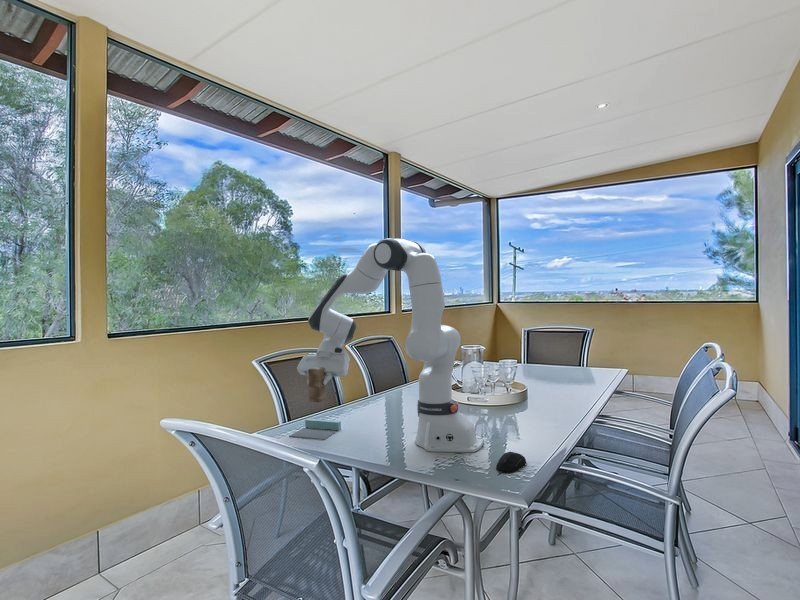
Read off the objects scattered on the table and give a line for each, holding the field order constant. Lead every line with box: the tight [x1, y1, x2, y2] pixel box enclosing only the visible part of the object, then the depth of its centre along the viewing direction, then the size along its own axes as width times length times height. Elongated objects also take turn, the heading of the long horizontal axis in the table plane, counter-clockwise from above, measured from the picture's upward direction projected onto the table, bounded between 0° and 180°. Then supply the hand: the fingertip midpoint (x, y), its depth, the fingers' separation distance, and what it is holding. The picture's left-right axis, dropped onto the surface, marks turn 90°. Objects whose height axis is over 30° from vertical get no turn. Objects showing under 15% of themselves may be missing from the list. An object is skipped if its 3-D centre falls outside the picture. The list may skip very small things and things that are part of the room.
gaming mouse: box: [496, 451, 527, 476], centre depth 129 cm, size 6×15×4 cm, turn 141°
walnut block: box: [307, 367, 327, 403], centre depth 168 cm, size 4×4×12 cm
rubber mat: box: [288, 428, 337, 441], centre depth 163 cm, size 14×9×1 cm, turn 71°
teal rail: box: [304, 418, 342, 431], centre depth 170 cm, size 14×2×3 cm, turn 71°
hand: (316, 383), depth 168 cm, fingers closed on walnut block, 4 cm apart
